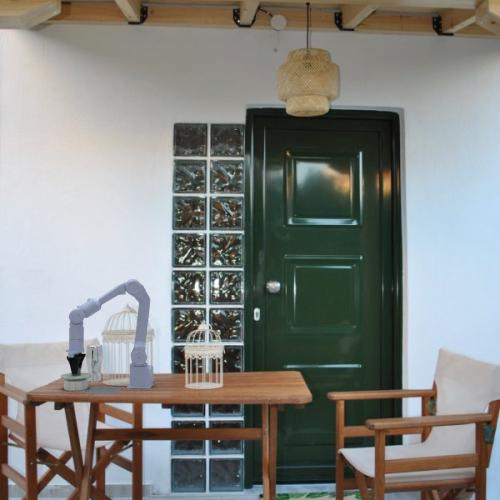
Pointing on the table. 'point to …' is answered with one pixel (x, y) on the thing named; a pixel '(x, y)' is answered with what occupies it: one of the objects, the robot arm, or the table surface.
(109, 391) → the mat
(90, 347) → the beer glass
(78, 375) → the lid
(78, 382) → the bowl
